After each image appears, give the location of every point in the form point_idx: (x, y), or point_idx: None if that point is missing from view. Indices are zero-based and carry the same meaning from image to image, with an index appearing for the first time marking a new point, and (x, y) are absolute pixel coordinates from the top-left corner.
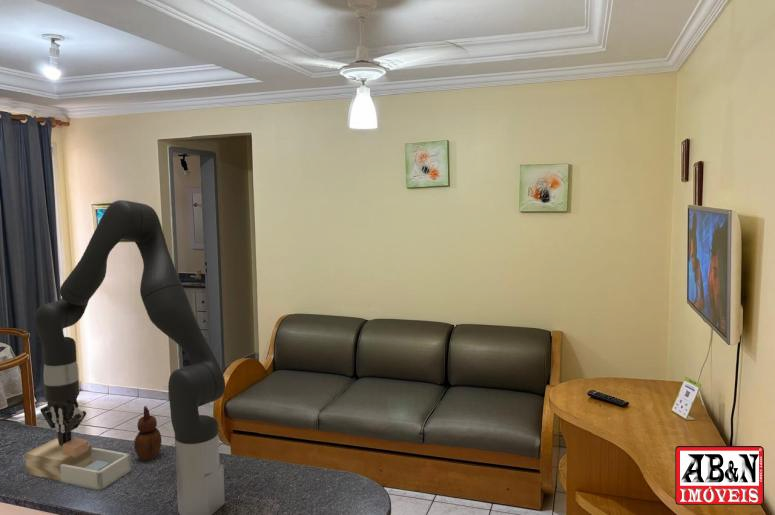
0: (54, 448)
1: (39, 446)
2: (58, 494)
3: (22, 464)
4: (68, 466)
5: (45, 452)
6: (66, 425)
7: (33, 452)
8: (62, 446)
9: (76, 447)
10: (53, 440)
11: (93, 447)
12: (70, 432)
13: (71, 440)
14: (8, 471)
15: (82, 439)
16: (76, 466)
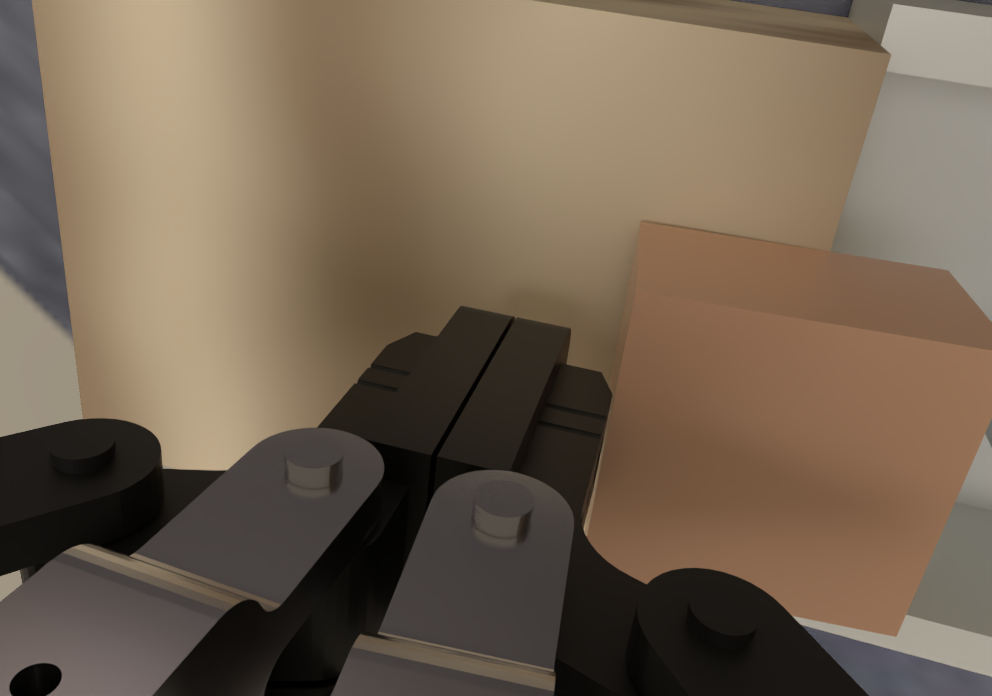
0: (317, 287)
1: (65, 248)
2: (840, 650)
3: (26, 154)
4: (852, 629)
5: (302, 412)
6: (362, 525)
7: (156, 418)
8: (381, 210)
9: (903, 614)
10: (62, 20)
11: (897, 3)
12: (579, 511)
13: (629, 419)
14: (45, 298)
15: (831, 322)
16: (980, 635)
